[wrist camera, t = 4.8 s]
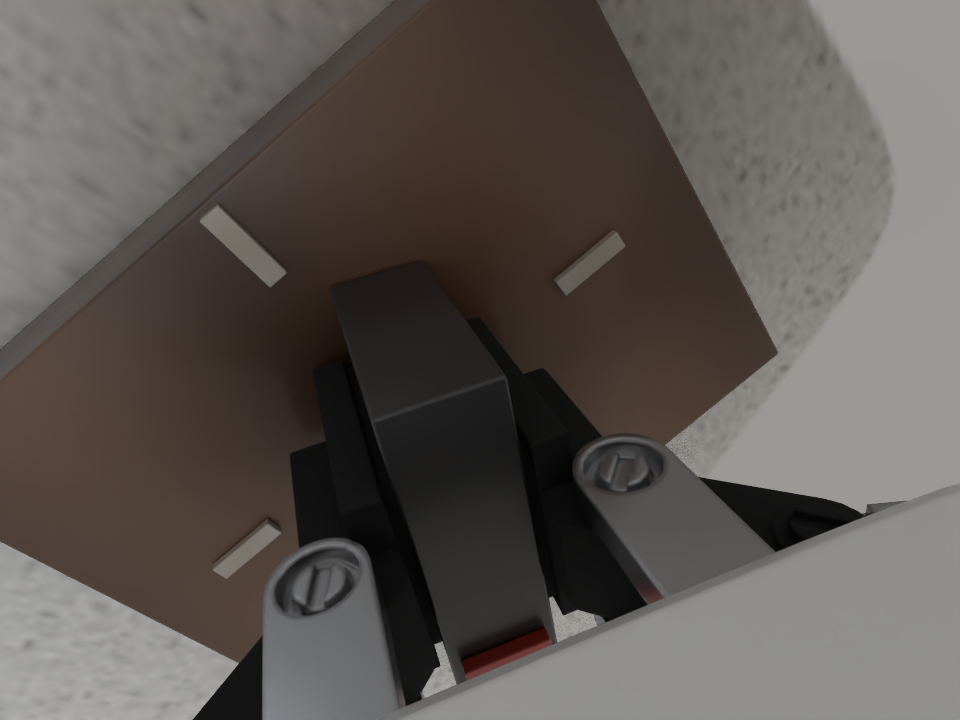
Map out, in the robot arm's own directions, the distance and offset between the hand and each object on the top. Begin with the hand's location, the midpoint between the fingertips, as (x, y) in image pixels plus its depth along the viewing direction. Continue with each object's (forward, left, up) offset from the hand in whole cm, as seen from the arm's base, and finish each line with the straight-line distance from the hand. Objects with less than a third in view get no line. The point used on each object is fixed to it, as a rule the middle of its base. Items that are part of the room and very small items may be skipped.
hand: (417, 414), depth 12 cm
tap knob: (0, 0, 0) cm, 0 cm away
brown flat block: (0, 0, -3) cm, 3 cm away
